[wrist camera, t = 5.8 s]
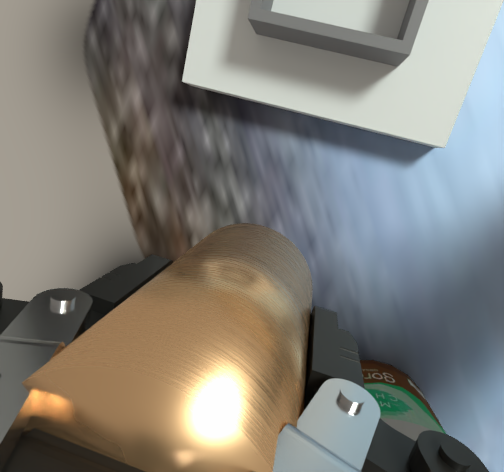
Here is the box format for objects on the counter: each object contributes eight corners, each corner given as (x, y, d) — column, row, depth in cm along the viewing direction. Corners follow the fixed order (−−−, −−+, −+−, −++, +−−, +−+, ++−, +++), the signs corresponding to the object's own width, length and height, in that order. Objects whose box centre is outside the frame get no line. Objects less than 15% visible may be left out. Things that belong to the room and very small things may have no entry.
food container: (421, 330, 28) (475, 427, 18) (443, 396, 29) (504, 520, 19) (276, 366, 31) (257, 464, 21) (300, 423, 32) (292, 542, 22)
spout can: (329, 245, 13) (359, 700, 2) (291, 359, 14) (205, 961, 4) (200, 207, 13) (-245, 434, 3) (177, 321, 15) (-178, 746, 4)
